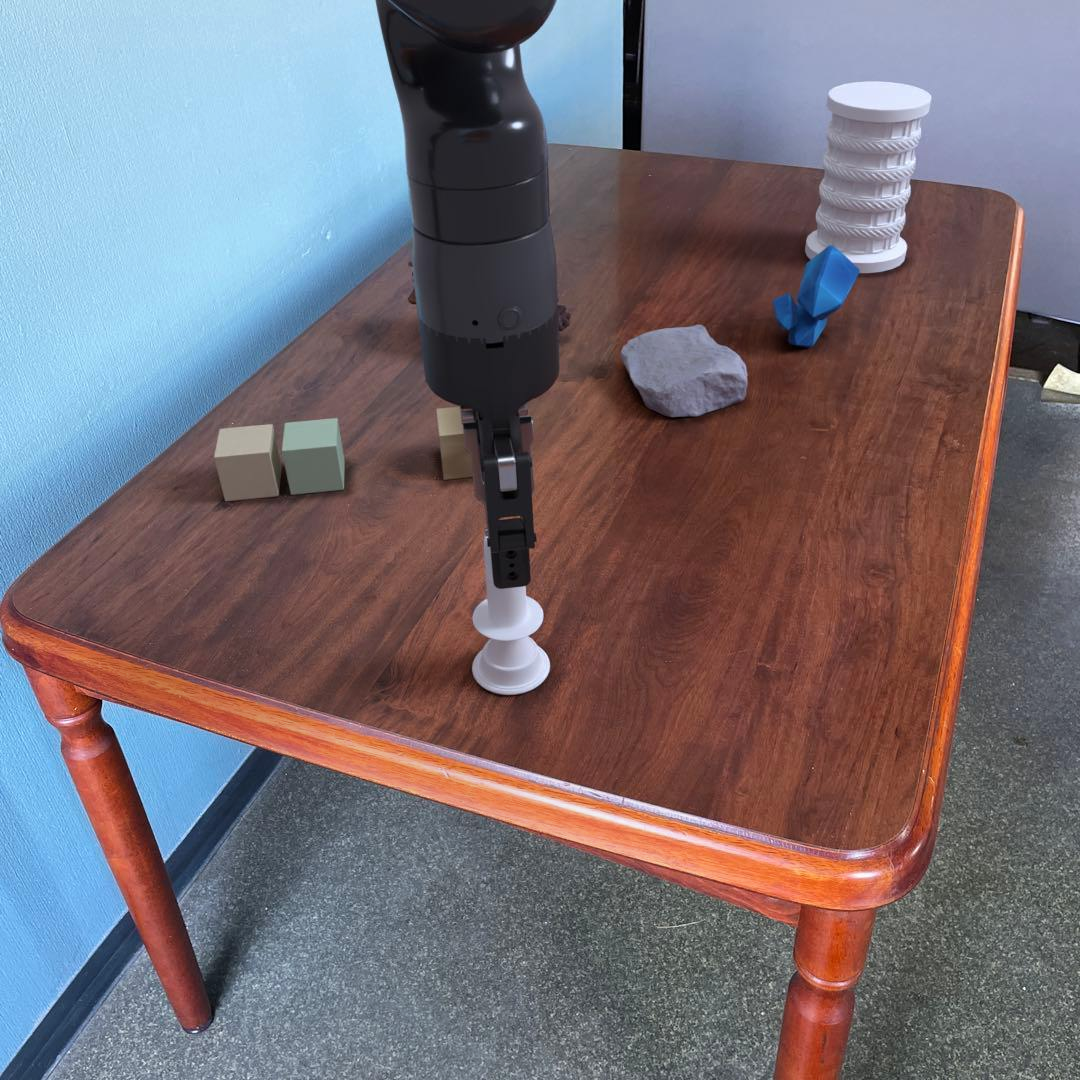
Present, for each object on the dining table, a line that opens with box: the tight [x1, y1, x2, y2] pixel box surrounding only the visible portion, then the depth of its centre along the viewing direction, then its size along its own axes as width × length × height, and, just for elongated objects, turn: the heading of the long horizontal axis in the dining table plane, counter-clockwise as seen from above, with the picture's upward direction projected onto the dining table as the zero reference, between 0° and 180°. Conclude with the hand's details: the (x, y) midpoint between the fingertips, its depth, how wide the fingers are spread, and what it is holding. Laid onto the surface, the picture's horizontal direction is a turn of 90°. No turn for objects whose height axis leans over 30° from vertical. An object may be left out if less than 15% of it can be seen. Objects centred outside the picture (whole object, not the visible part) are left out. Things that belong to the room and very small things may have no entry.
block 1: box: [213, 423, 283, 502], centre depth 91 cm, size 4×4×4 cm
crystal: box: [772, 245, 860, 349], centre depth 109 cm, size 7×9×12 cm
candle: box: [471, 535, 551, 696], centre depth 70 cm, size 5×5×12 cm
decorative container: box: [804, 80, 933, 274], centre depth 122 cm, size 12×12×18 cm
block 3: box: [435, 406, 473, 481], centre depth 93 cm, size 4×4×4 cm
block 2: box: [281, 417, 346, 496], centre depth 92 cm, size 4×4×4 cm
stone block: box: [620, 324, 749, 418], centre depth 103 cm, size 12×5×10 cm
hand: (504, 540), depth 67 cm, fingers open, 8 cm apart
